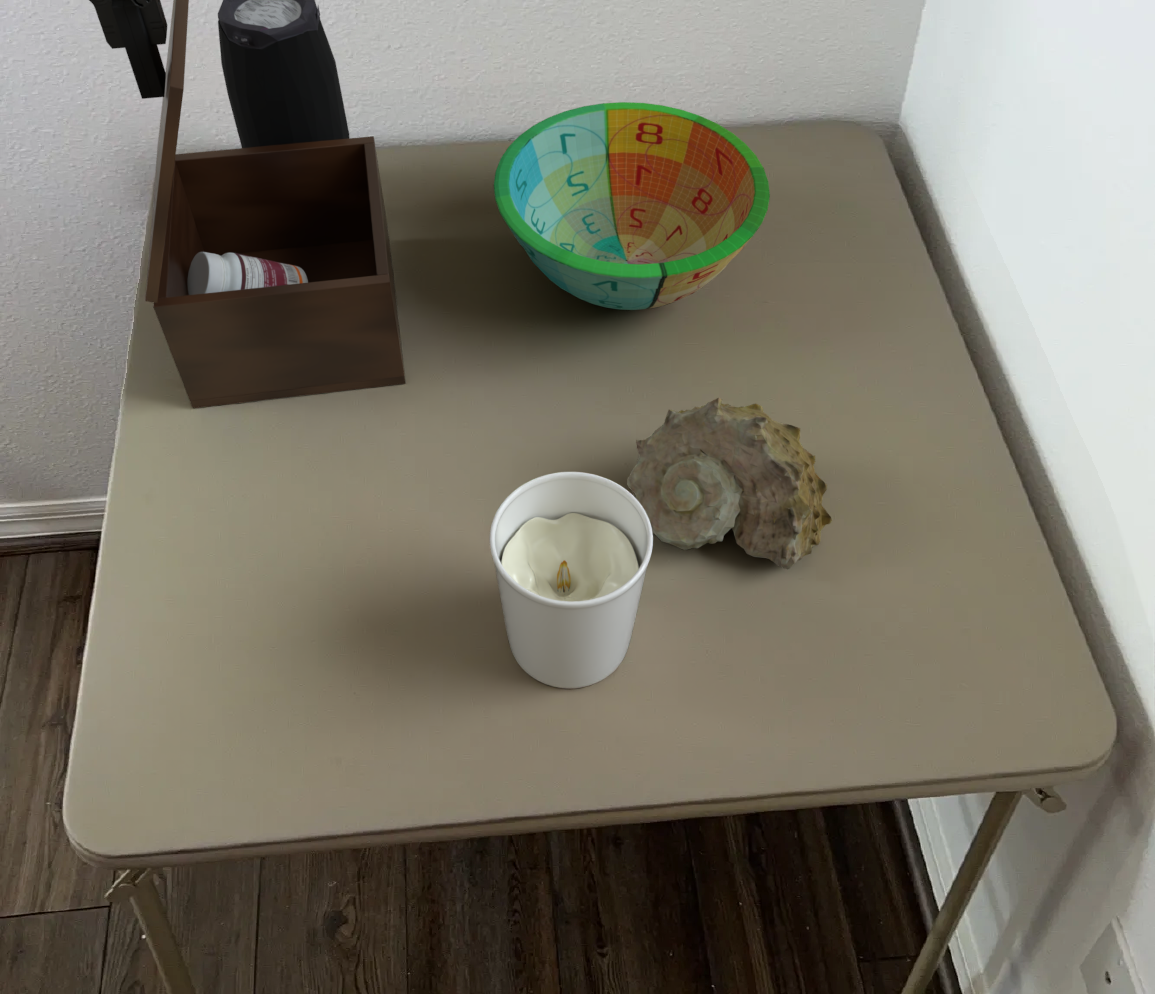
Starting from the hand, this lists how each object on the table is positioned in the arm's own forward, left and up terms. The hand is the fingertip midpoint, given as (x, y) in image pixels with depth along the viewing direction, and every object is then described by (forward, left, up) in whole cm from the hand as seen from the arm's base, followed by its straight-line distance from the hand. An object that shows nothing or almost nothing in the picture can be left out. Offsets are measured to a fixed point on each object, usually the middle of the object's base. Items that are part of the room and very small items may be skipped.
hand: (154, 86), depth 77 cm
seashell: (+36, -26, -23) cm, 50 cm away
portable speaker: (+7, +15, -23) cm, 28 cm away
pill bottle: (+6, 0, -20) cm, 21 cm away
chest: (+5, 0, -23) cm, 23 cm away
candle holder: (+23, -34, -23) cm, 47 cm away
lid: (+1, 0, -3) cm, 3 cm away
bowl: (+34, +1, -23) cm, 41 cm away
